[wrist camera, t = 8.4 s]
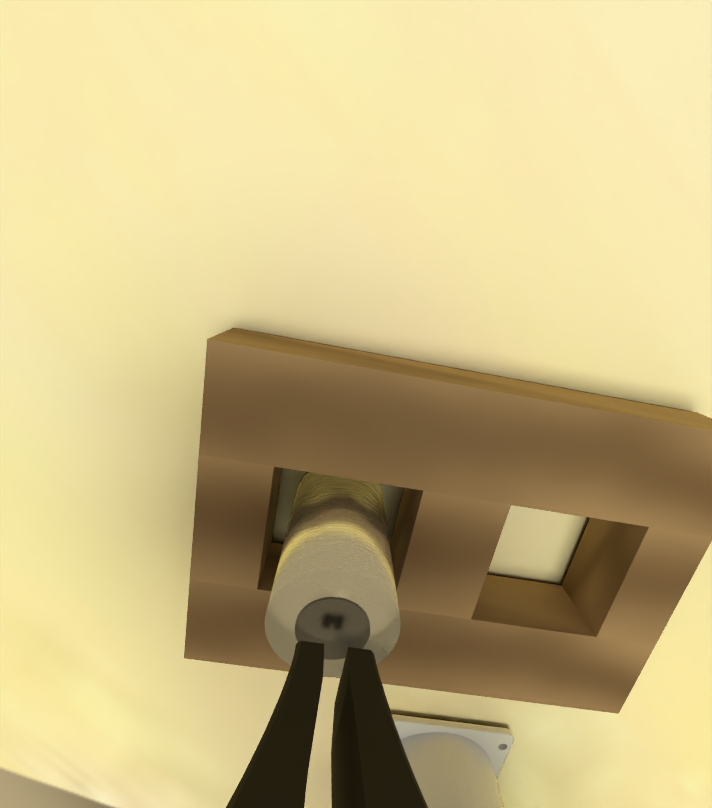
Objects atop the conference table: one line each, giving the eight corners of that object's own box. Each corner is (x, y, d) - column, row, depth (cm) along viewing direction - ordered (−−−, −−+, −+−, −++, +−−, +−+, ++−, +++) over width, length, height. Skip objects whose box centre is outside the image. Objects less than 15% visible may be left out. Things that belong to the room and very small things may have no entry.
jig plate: (582, 655, 21) (618, 713, 19) (207, 603, 20) (183, 658, 17) (697, 412, 17) (765, 440, 14) (233, 327, 16) (207, 339, 13)
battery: (372, 542, 19) (384, 689, 12) (290, 529, 19) (255, 671, 12) (391, 469, 18) (416, 586, 11) (303, 453, 18) (273, 564, 11)
